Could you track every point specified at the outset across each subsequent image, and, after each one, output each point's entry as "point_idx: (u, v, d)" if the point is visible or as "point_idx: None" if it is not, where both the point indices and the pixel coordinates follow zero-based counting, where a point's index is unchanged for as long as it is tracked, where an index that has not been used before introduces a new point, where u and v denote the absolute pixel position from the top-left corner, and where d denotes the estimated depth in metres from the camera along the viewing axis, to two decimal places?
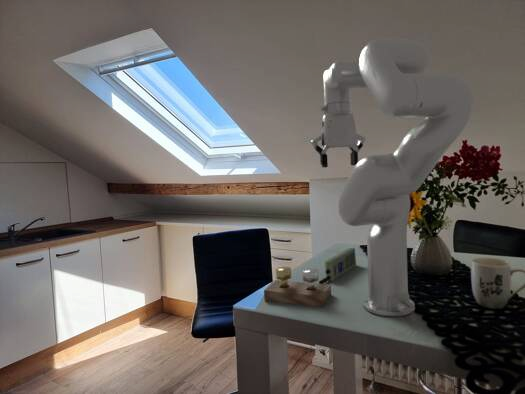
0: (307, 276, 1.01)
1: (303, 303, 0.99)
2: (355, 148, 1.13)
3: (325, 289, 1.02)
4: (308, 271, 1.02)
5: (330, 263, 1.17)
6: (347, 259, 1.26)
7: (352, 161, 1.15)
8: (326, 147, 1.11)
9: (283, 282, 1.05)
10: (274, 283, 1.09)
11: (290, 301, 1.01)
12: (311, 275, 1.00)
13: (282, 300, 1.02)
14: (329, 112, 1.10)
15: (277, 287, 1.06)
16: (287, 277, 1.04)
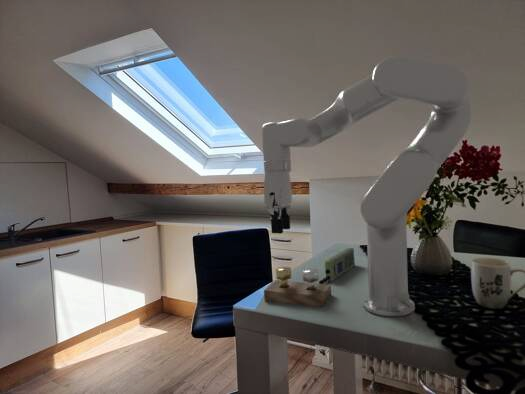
0: (307, 276, 1.01)
1: (303, 303, 0.99)
2: None
3: (325, 289, 1.02)
4: (308, 271, 1.02)
5: (330, 263, 1.17)
6: (346, 259, 1.26)
7: None
8: None
9: (283, 282, 1.05)
10: (274, 283, 1.09)
11: (290, 301, 1.01)
12: (311, 275, 1.00)
13: (282, 300, 1.02)
14: None
15: (277, 287, 1.06)
16: (287, 277, 1.04)
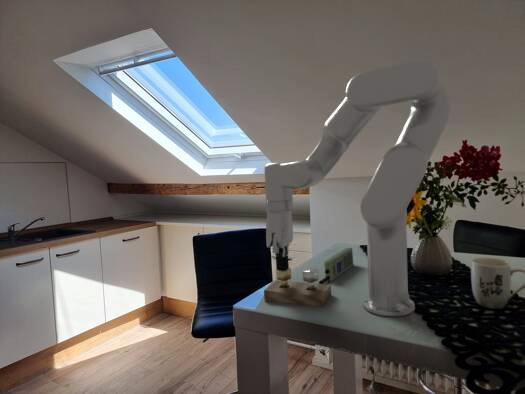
0: (307, 276, 1.01)
1: (303, 303, 0.99)
2: None
3: (325, 289, 1.02)
4: (308, 271, 1.02)
5: (329, 263, 1.17)
6: (345, 259, 1.26)
7: None
8: None
9: (283, 282, 1.05)
10: (274, 283, 1.09)
11: (290, 301, 1.01)
12: (311, 275, 1.00)
13: (282, 300, 1.02)
14: None
15: (277, 287, 1.06)
16: (287, 278, 1.04)
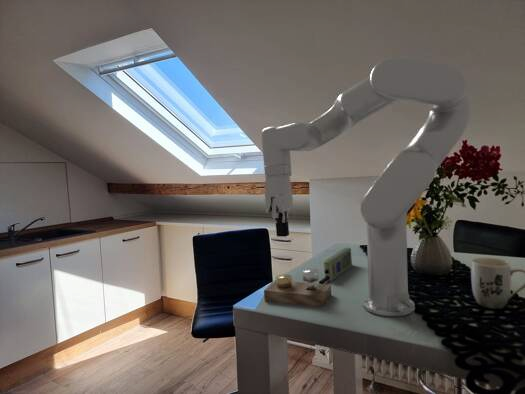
0: (307, 276, 1.01)
1: (303, 303, 0.99)
2: None
3: (325, 289, 1.02)
4: (308, 271, 1.02)
5: (329, 263, 1.17)
6: (344, 259, 1.27)
7: None
8: None
9: None
10: (274, 283, 1.09)
11: (290, 301, 1.01)
12: (311, 275, 1.00)
13: (282, 300, 1.02)
14: None
15: (277, 287, 1.06)
16: (287, 285, 1.04)
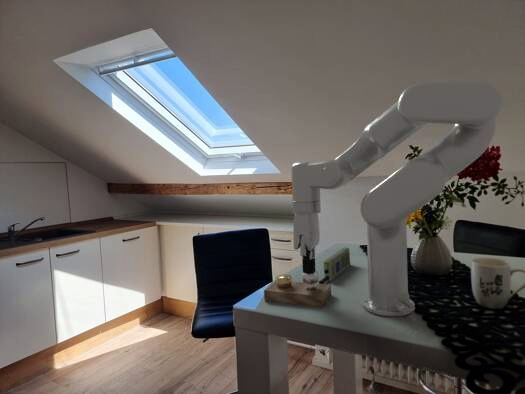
0: (307, 278, 1.01)
1: (303, 303, 0.99)
2: None
3: (325, 289, 1.02)
4: (308, 273, 1.02)
5: (329, 263, 1.17)
6: (343, 259, 1.27)
7: None
8: None
9: None
10: (274, 283, 1.09)
11: (290, 301, 1.01)
12: (312, 277, 1.00)
13: (282, 300, 1.02)
14: None
15: (277, 287, 1.06)
16: (287, 285, 1.04)
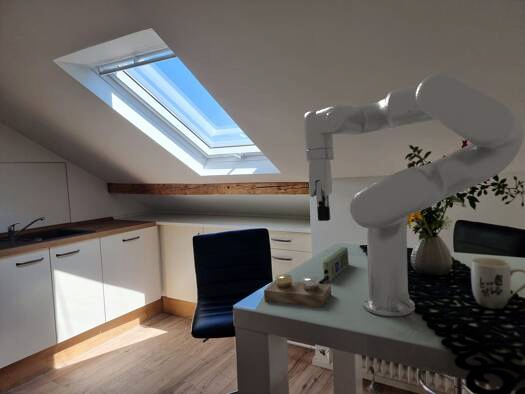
0: (307, 284, 1.01)
1: (303, 303, 0.99)
2: None
3: (325, 289, 1.02)
4: (308, 279, 1.02)
5: (328, 263, 1.17)
6: (342, 258, 1.27)
7: None
8: None
9: None
10: (274, 283, 1.09)
11: (290, 301, 1.01)
12: (312, 283, 1.01)
13: (282, 300, 1.02)
14: None
15: (277, 287, 1.06)
16: (287, 285, 1.04)
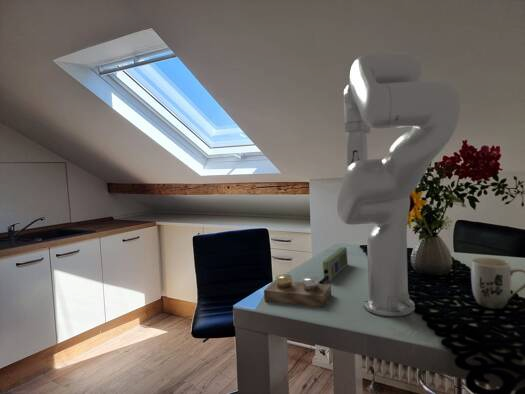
0: (307, 284, 1.01)
1: (303, 303, 0.99)
2: None
3: (325, 289, 1.02)
4: (308, 279, 1.02)
5: (328, 263, 1.17)
6: (341, 258, 1.27)
7: None
8: None
9: None
10: (274, 283, 1.09)
11: (290, 301, 1.01)
12: (312, 283, 1.01)
13: (282, 300, 1.02)
14: None
15: (277, 287, 1.06)
16: (287, 285, 1.04)
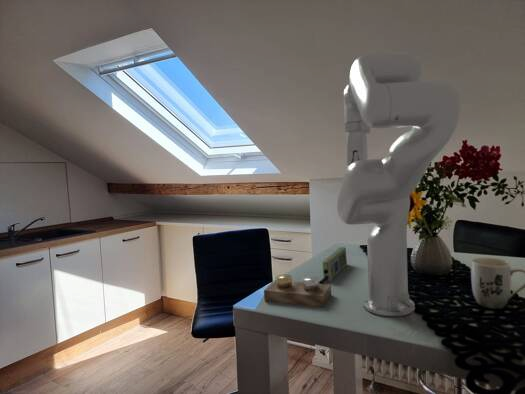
0: (307, 284, 1.01)
1: (303, 303, 0.99)
2: None
3: (325, 289, 1.02)
4: (308, 279, 1.02)
5: (328, 263, 1.17)
6: (340, 258, 1.27)
7: None
8: None
9: None
10: (274, 283, 1.09)
11: (290, 301, 1.01)
12: (312, 283, 1.01)
13: (282, 300, 1.02)
14: None
15: (277, 287, 1.06)
16: (287, 285, 1.04)
